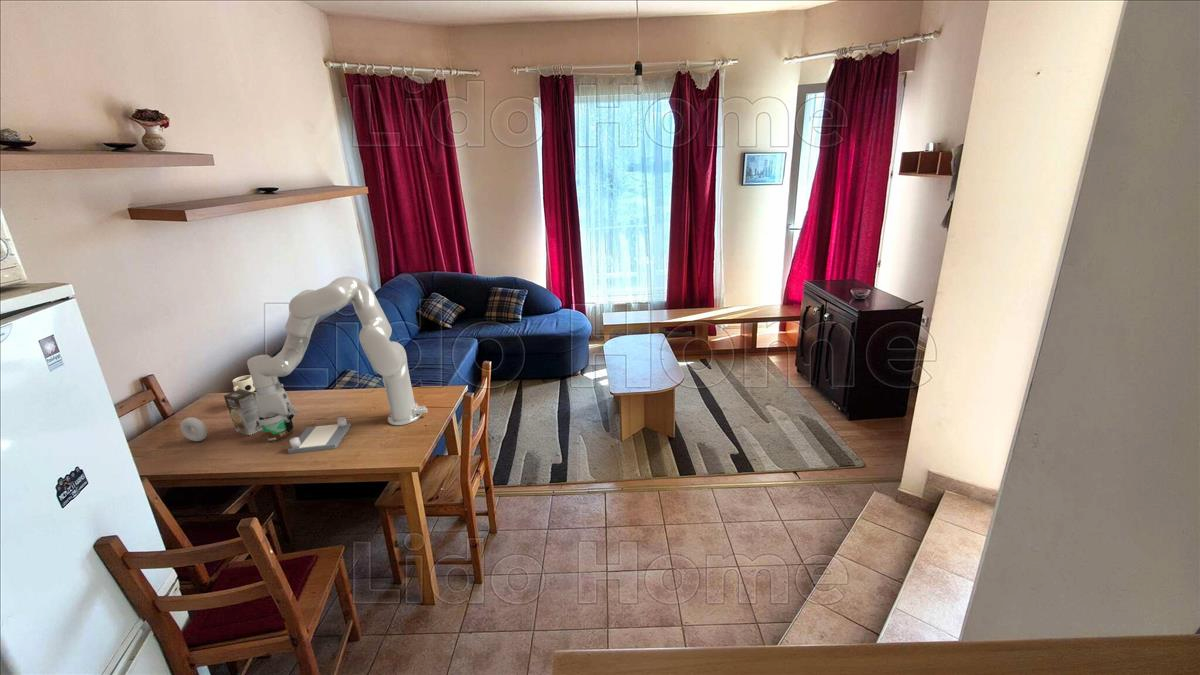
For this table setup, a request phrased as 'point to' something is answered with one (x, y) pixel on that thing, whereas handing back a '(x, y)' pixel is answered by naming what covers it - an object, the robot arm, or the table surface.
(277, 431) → the food container
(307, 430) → the board
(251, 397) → the coffee box
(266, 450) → the table surface
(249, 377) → the character mug
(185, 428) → the donut
